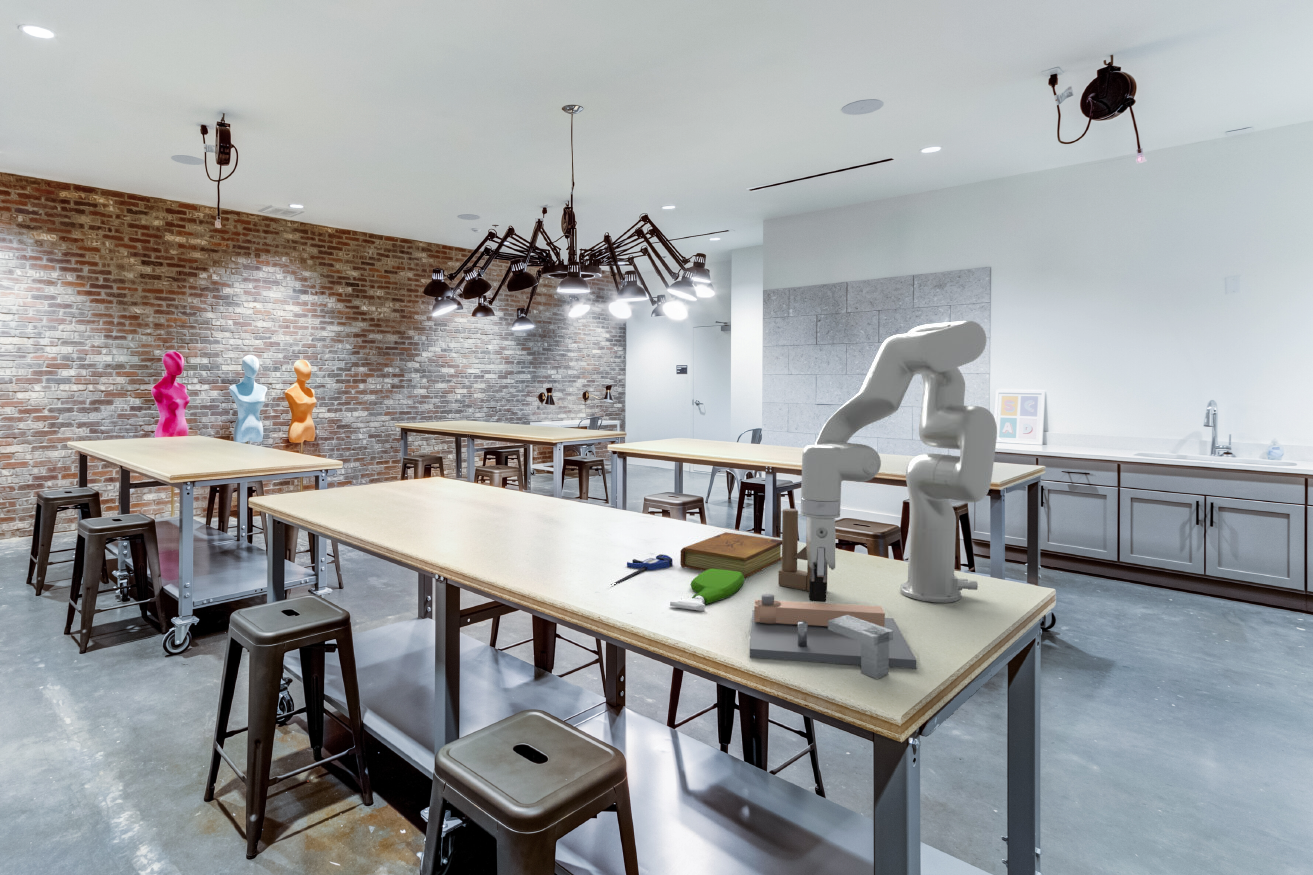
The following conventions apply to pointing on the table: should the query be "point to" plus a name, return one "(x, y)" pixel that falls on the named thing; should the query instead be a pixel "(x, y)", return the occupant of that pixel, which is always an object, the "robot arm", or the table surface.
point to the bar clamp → (649, 565)
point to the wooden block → (792, 554)
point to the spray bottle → (711, 588)
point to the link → (812, 612)
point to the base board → (821, 645)
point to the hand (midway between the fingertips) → (817, 600)
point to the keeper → (865, 632)
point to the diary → (732, 553)
